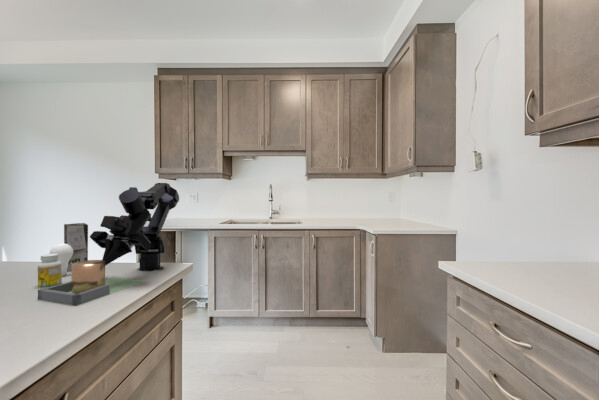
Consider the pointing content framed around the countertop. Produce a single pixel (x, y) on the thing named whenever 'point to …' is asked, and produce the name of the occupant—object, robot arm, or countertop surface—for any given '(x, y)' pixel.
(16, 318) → the countertop surface
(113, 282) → the green
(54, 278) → the supplement bottle
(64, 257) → the lightbulb
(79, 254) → the coffee box
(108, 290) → the shallow gray tray
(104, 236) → the robot arm
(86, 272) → the copper metal cylinder
